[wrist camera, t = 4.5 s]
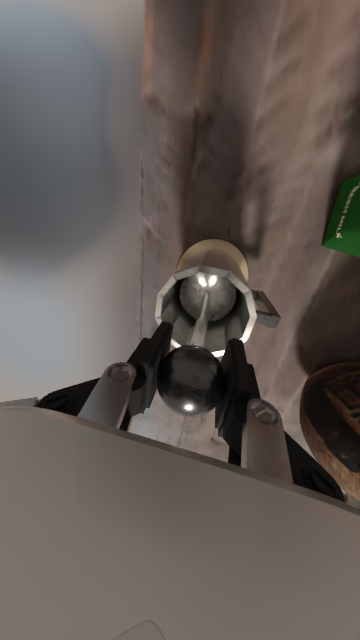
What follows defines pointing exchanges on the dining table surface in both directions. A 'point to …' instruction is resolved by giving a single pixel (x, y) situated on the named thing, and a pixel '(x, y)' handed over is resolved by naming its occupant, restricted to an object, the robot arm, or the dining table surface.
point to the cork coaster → (220, 246)
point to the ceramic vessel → (334, 422)
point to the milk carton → (345, 219)
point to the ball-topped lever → (197, 349)
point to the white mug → (224, 328)
